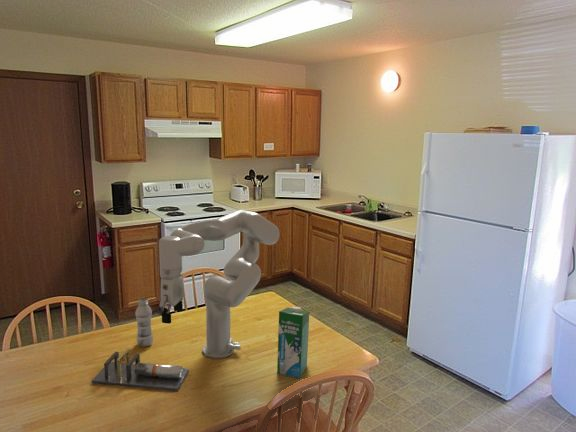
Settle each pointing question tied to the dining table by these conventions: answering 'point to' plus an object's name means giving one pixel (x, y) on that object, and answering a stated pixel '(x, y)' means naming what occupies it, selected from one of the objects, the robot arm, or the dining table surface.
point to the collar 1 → (106, 364)
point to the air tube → (158, 370)
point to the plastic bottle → (144, 323)
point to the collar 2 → (128, 366)
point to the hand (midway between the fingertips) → (172, 316)
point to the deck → (139, 379)
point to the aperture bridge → (122, 357)
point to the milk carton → (293, 341)
